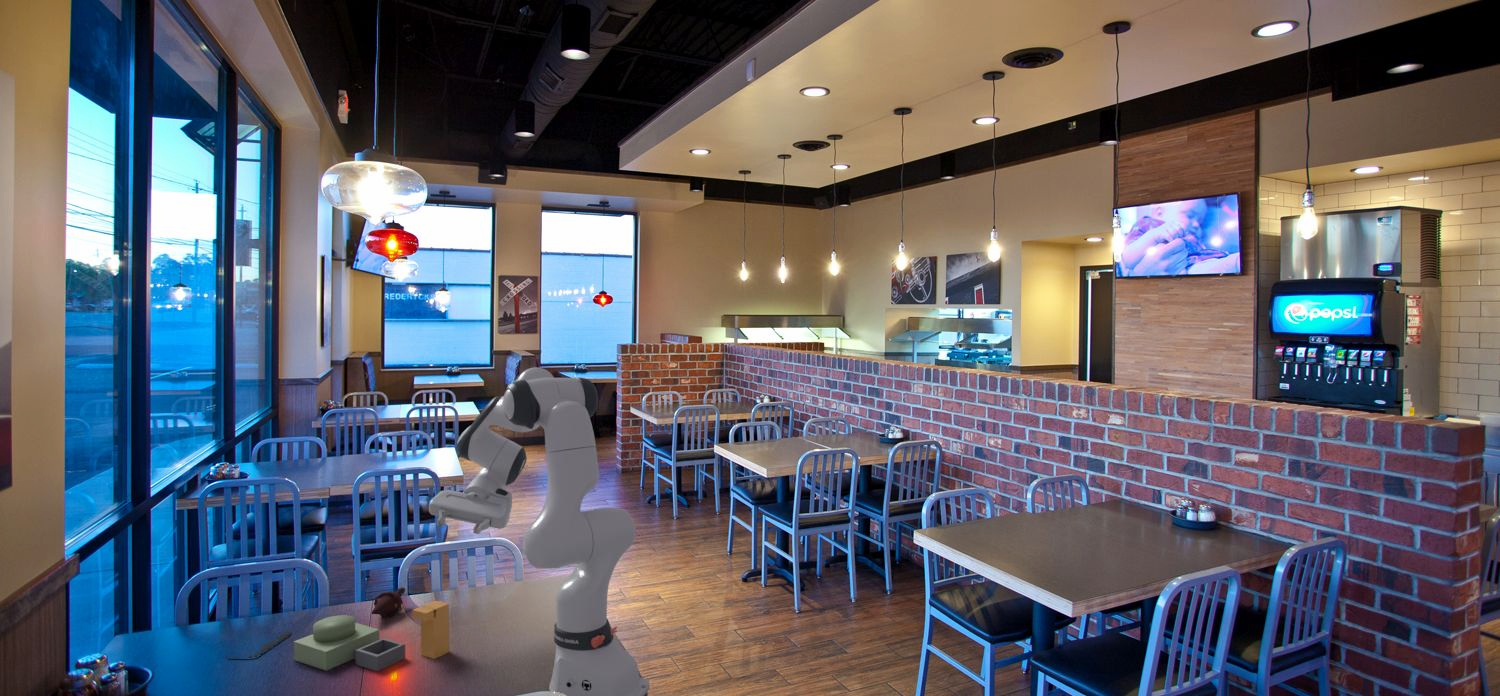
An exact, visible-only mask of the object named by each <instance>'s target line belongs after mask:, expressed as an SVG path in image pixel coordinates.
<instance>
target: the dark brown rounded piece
mask: <svg viewBox="0 0 1500 696" xmlns="http://www.w3.org/2000/svg"><path fill="white" fill-rule="evenodd" d="M405 592H406V588H405V587H403V586H401V587H399V588H397V589H396V590H395V592H394V591H387V592H386V591H385V592H381V593H380V594H379V595H377V596H376V597H375V598H374V602H373V605H374V608H373V609H372V611H371V615H378V616H381V617H382V618H394V616H395V615H397V613H399V612H400V610H401V607H402V606H403V602H404V601H403V598H402V596H403V595H404V594H405Z"/></svg>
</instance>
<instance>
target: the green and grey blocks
mask: <svg viewBox="0 0 1500 696" xmlns="http://www.w3.org/2000/svg"><path fill="white" fill-rule="evenodd" d="M312 632H313V634H310V635H309V634H308V635H307V636H305V637H302V638H299V639H296V640H294V641H293V660H294V661H296V662H299V663H302V664H306V665H307V666H311V667H314V668H317V669H320V670H323V671H326V672H327V671H329V670H332V669H334V668H336V667H338V666H341V665H343V664H345V663H348V662H349V661H352V660H355V665H357V666H359V667H362V668H366V669H368V670H371V671H374V672H380V671H381V670H383V669H386V668H388V667H390V666H392V665H394V664H396V663H399V662H401V661H404V660H405V659H406V644H405V643H403V642H400V641H395V640H393V639H389V638H385V637H383V638H381V639H380V629H379V628H374V627H371V626H368V625H364V624H362V623H358V622H356V618H355V616H352V615H347V614H343V615H341V614H340V615H333V616H332V615H331V616H328V617H324V618H322V619H320V620H317V621H316V622H314V624H313V625H312Z"/></svg>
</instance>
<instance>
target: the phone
mask: <svg viewBox="0 0 1500 696" xmlns="http://www.w3.org/2000/svg"><path fill="white" fill-rule="evenodd" d="M285 632H286V633H287V634H286V633H285V634H283V635H281V636H280V637H278V638H279V639H277V640H278V641H277V640H276V641H277V642H275V641H272V642H269V643H268V644H266V645H264V646H263V647H265V646H266V647H265V648H263V647H262V648H263V649H261V648H260V649H261V650H260V651H261V652H260V653H257V652H255V653H257V654H258V655H260V654H262V653H263V652H264V651H266V650H268V649H270V648H271V647H272V646H274V645H275V644H276V643H279V642H280V641H282V640H283V639H284V638H286V637H288V636H289V635H290V634H293V633H292V631H285ZM289 637H290V636H289ZM289 637H288V638H289ZM286 639H287V638H286ZM283 641H284V640H283ZM283 641H282V642H283ZM273 642H275V643H273ZM271 643H272V644H271ZM280 643H281V642H280ZM280 643H279V644H280ZM270 650H271V649H270ZM258 652H259V651H258ZM250 654H251V653H250ZM257 654H255V655H254V657H257V656H258V655H257ZM245 656H247V655H245ZM228 657H229V656H228V655H227V658H228ZM230 657H233V656H230ZM235 657H236V656H235ZM239 657H240V656H239ZM252 657H253V656H250V655H249V658H252Z"/></svg>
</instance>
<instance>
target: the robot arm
mask: <svg viewBox="0 0 1500 696" xmlns="http://www.w3.org/2000/svg"><path fill="white" fill-rule="evenodd" d="M598 395H599V394H598V390H597V388H596V386H595V384H594V383H593V382H592V381H591V380H590V379H588V378H585V377H579V376H574V377H554V376H553V374H552V373H551V372H550V371H548V369H545V368H542V367H535V366H534V367H531V368H527V369H525V370H524V371H523V372H522V373H520V375H519V376H518V377H517V378H516V380H515V381H514V382H512V383H509V384H508V385H507V387H506V389H505V390H504V393H503V395H498V396H495V397H493V398H492V399H491V400H490V401H489V402H488V403H487V404H486V405H485V407H483V409H482V410H481V411H480V413H479V414H478V415H477V417H476V418H475V419H474V420H473V422H472V424H471V425H469V426H468V427H466V429H465V430H464V431H463V432H462V433H461V434H460V436H459V437H458V440H457V443H456V450H457V452H458V455H459V457H460V458H461V459H462V458H463V459H464V460H466V461H470V462H472V463H474V464H476V465H478V466H480V467H481V468H480V469H479V471H478V472H477V473H476V475H475V477H474V478H473V479H472V480H471V481H470V482H469V484H468V485H467V486H466V487H465V488H464V490H463V491H456V490H452V489H444V490H441V491H439V492H438V493H437V494H436V495H434V497H432V498H431V500H430V501H429V504H428V512H429V514H430V515H432V516H436V517H438V518H437V519H436V526H439V527H444V525H445V524H446V519H451V520H455V521H460V522H464V523H465V522H466V523H469V524H470V523H471V524H475V525H474V526H473V530H472V532H473V534H477V535H480V534H481V532H482V531H485V530H487V529H489V528H493V529H494V528H495V529H498V530H500V529H501V530H502V529H504V528H506V526H507V525H508V523H509V521H510V517H511V516H510V515H511V512H512V507H513V494H512V493H511V492H510V491H507V490H506V489H507V488H508V486H509V485H512V484H513V483H514V482H515V481H516V480H517V479H518V476H519V475H520V474H521V473H522V471H523V469H524V468H525V466H526V463H527V453H526V450H525V448H524V446H522V445H520V444H518V443H517V442H514V441H512V440H510V439H509V438H507V437H504V436H503V435H501V434H499V433H497V432H495V431H493V430H491V429H490V428H489V427H490V426H497V427H501V428H504V429H506V430H510V431H513V432H516V433H529V432H531V431H534V430H536V429H538V428H539V427H540V426H541V427H542V429H543V431H544V445H545V447H544V448H545V456H546V457H545V458H546V467H547V493H546V497H545V501H544V504H543V507H542V509H541V511H540V512H539V515H538V516H537V517H536V519H535V520H534V521H533V522H532V523H531V524H530V525H529V526H528V527H527V529H526V531H525V533H524V535H523V541H522V548H523V553H524V556H525V558H526V560H527V562H528V563H529V564H530V565H531V566H532V567H533V568H535V569H540V570H541V569H543V570H545V569H546V570H548V569H549V570H550V569H561V568H564V567H565V568H567V567H569V566H573V565H575V567H574V569H573V571H572V573H570V575H569V576H568V577H566V578H565V579H564V580H563V581H562V582H561V583H560V584H559V586H558V588H557V590H556V593H555V602H556V603H555V620H556V621H555V623H554V627H553V628H554V631H553V640H554V643H555V650H554V651H555V652H554V653H555V654H554V662H553V663H554V664H553V670H552V674H551V675H552V676H551V679H550V682H549V686H548V690H549V692H550V691H555V692H560V693H564V694H566V695H567V696H645V695H646V694H647V693H648V691H649V690H650V681H649V680H648V679H646V678H643V677H641V676H640V673H639V665H638V664H637V661H636V659H635V658H634V656H632V655H631V654H630V653H629V651H627V650H626V649H625V648H623V646H622V645H621V644H620V643H619V642H618V641H617V640H616V639H615V637H614V636H615V635H614V634H616V632H618V630H617V628H618V626H615V627H613V628H612V626H611V624H610V621H609V619H608V617H607V616H608V593H609V592H608V591H609V585H610V582H611V577H612V575H613V572H614V570H615V569H616V566H617V564H618V562H619V561H620V559H621V558H622V556H623V555H624V554H625V553H626V552H627V550H628V549H630V548H631V546H633V543H634V541H635V537H636V524H635V521H634V519H633V516H631V514H630V512H628V511H627V510H626V509H624V508H621V507H600V508H595V509H589V510H584V511H581V507H582V502H583V500H584V498H585V496H586V495H587V494H589V493H591V491H593V490H594V489H595V488H596V486H597V485H598V483H599V480H600V470H599V462H598V455H597V454H598V453H597V444H596V439H595V432H594V429H593V425H592V421H591V418H592V417H593V416H594V414H595V413H596V411H597V408H598V403H599V396H598ZM640 677H641V678H640ZM643 681H644V682H645V683H644V682H643ZM645 685H646V686H645Z"/></svg>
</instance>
